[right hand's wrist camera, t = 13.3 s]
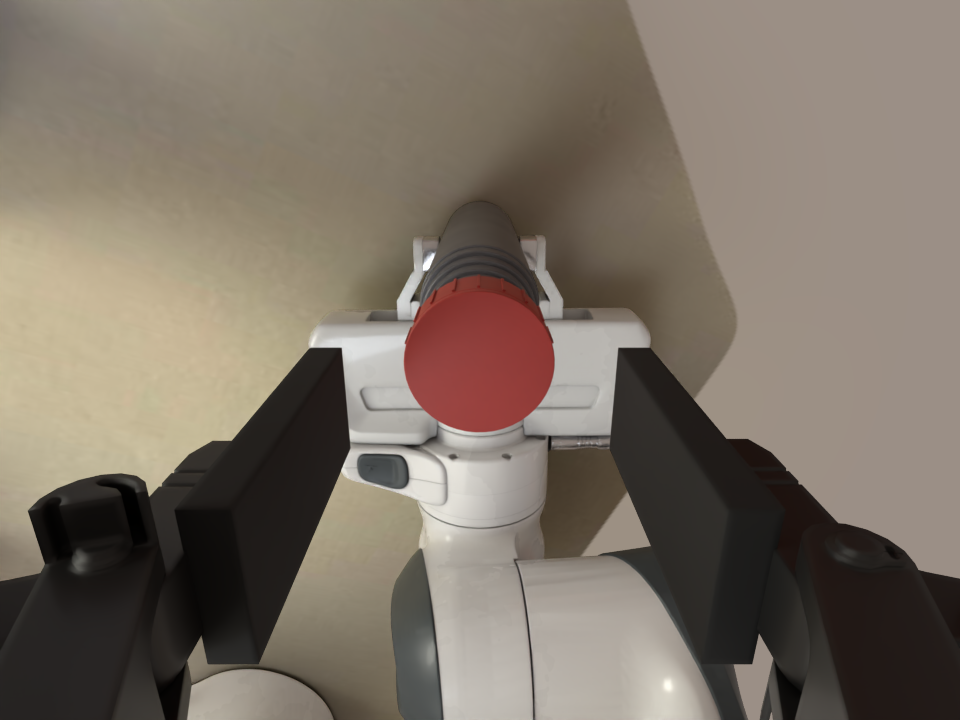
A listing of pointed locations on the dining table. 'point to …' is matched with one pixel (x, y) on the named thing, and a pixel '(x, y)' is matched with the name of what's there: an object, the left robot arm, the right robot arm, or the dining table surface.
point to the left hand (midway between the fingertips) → (478, 236)
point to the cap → (479, 355)
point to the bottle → (479, 251)
